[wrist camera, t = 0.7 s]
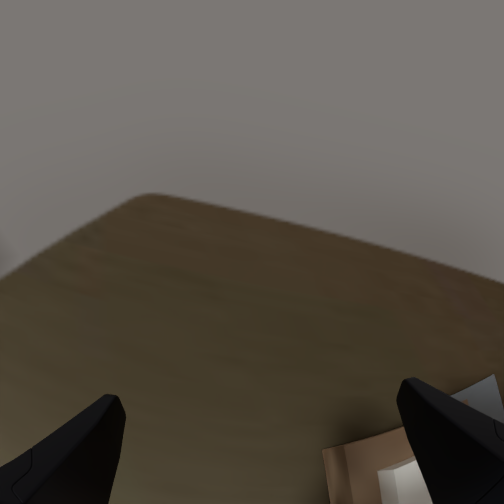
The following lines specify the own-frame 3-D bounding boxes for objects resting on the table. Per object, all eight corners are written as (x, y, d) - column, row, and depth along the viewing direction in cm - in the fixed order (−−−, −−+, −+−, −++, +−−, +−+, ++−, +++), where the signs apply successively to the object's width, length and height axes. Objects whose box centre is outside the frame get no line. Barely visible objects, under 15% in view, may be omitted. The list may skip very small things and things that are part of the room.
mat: (513, 490, 12) (515, 490, 11) (456, 538, 10) (459, 538, 10) (491, 375, 22) (493, 374, 22) (436, 402, 20) (438, 400, 20)
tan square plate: (456, 531, 11) (486, 530, 8) (340, 588, 9) (363, 603, 6) (438, 411, 20) (467, 398, 17) (321, 449, 18) (343, 445, 15)
